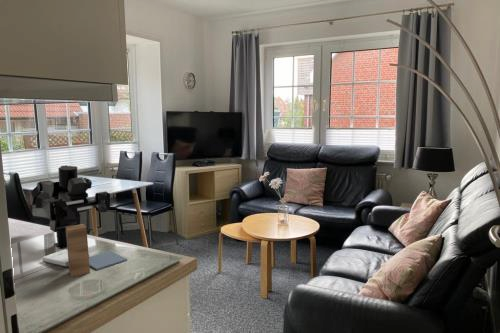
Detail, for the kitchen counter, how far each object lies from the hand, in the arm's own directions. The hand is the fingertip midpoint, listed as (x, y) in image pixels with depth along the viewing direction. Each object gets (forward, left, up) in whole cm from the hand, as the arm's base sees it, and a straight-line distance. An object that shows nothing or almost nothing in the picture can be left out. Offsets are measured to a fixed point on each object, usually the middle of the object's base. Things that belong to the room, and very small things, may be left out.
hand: (91, 213), depth 112 cm
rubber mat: (0, +3, -16) cm, 17 cm away
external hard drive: (-10, -5, -16) cm, 20 cm away
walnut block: (+3, -6, -16) cm, 18 cm away
